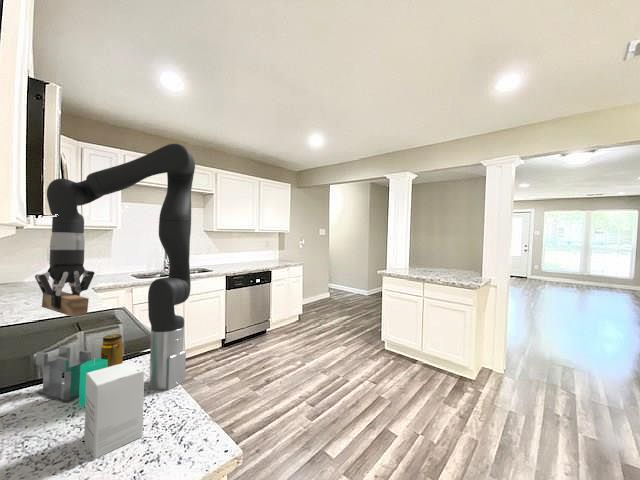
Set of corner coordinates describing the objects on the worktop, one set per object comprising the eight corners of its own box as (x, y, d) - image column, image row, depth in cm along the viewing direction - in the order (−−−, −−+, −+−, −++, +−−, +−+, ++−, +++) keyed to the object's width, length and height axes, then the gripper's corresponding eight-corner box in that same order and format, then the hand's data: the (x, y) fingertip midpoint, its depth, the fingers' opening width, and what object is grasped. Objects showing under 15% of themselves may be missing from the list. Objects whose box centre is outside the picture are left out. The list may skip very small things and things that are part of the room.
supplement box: (130, 420, 69) (132, 359, 69) (143, 436, 63) (145, 370, 63) (82, 440, 62) (85, 371, 62) (93, 460, 56) (95, 384, 56)
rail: (87, 314, 80) (88, 298, 80) (72, 316, 77) (74, 300, 77) (56, 304, 86) (57, 290, 86) (41, 306, 82) (43, 291, 82)
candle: (90, 408, 74) (92, 362, 74) (72, 405, 75) (74, 360, 75) (112, 396, 79) (113, 353, 80) (94, 393, 81) (96, 352, 81)
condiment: (94, 373, 93) (95, 337, 94) (119, 363, 101) (120, 330, 102) (108, 377, 91) (109, 340, 91) (133, 367, 99) (134, 333, 99)
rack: (90, 393, 81) (91, 352, 81) (64, 404, 75) (65, 360, 75) (60, 384, 86) (62, 345, 86) (34, 394, 80) (36, 352, 80)
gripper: (44, 248, 74) (42, 313, 73) (102, 248, 87) (100, 303, 86) (28, 248, 76) (26, 311, 76) (86, 248, 90) (85, 302, 89)
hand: (65, 306), depth 81 cm, fingers closed on rail, 3 cm apart
